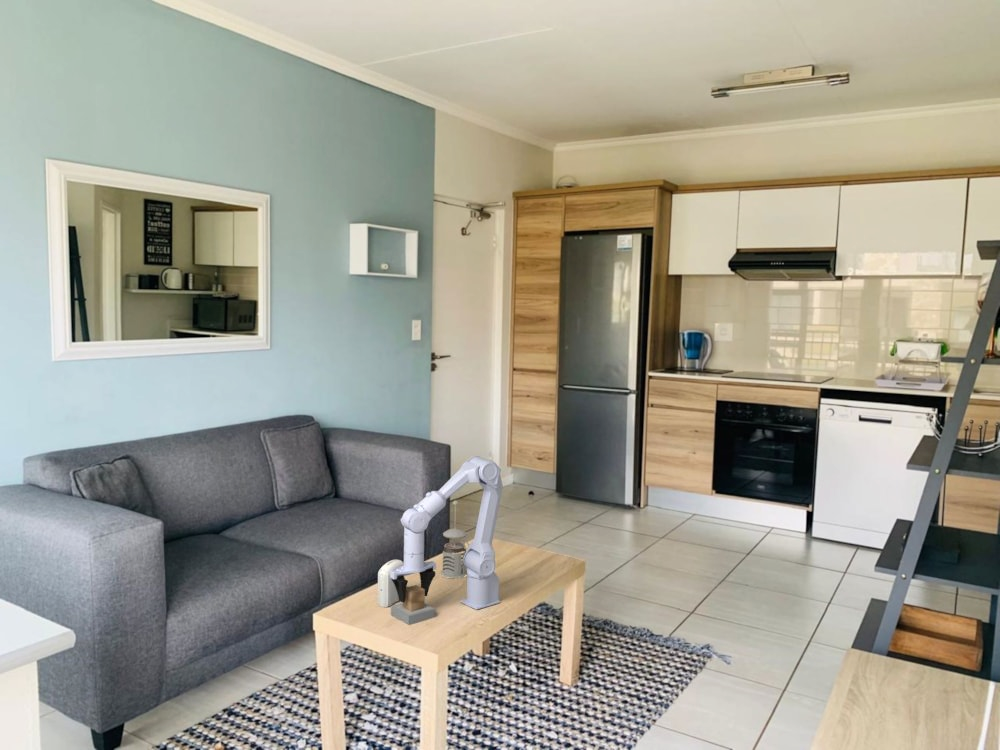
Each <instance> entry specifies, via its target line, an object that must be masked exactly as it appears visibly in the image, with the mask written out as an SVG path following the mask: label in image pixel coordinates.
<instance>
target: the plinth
mask: <svg viewBox="0 0 1000 750" xmlns="http://www.w3.org/2000/svg"><path fill="white" fill-rule="evenodd" d="M402 605H403V603H402V602H401V603H398V604H395V605H394V604H393V605H391V606H390V615H391V616H393V618H396V619H397V620H399V621H401V622H402V621H403V622H402V623H404V624H406V625H408V626H410V625H414V624H418V623H420V622H424V621H426V620H430V619H434V618H435V617H436V608H435V607H432V606H430V605H429V604H427V603H425V605H424V608H423V609H420V610H416V611H413V612H410V611H409V610H407V609H405V608H403V607H402Z"/></svg>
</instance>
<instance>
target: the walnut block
mask: <svg viewBox="0 0 1000 750" xmlns="http://www.w3.org/2000/svg"><path fill="white" fill-rule="evenodd" d="M425 598H426V596H425V589H423V588H421V586H419V585H417V584H415V585H410V586H406V598H405V602H403V605H402V607H403V608H405V609H407V610H409V611H410V612H413V611H416V610H420V609H423V608H424V605H425V604H426V603H425Z"/></svg>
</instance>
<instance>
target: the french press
mask: <svg viewBox="0 0 1000 750" xmlns="http://www.w3.org/2000/svg"><path fill="white" fill-rule="evenodd" d="M452 505H454V524H456V516H457V515H456V513H457V511H456V510H457V506H458V505H459V501H458V500H454V501H452ZM442 535H443V537H445V539H446V538H447V539H454V541H453V542H446V543H445V544H444V545H443V547H444V548H443V549H442V570H441V571H440V572H441V575H443V576H444V577H449V578H459V577H464V576H465V575H467V567H466V566H465V565H464V562H463V558H464V555H465V553H466V552H467V550H468V549H467V547H466V544H467V546H468V547H469V544H470V543H469V542H468V541H467V540H464V541H462V540H461V541H460V542H456V539H463V538H465V537H467V535H468V533H467V532H466V531H465V530H462V529H461V528H460V529H459V528H457V527H454V528H449V529H447V530H445V531H444V532H443V533H442ZM465 543H466V544H465ZM444 577H443V578H444Z"/></svg>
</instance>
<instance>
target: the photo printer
mask: <svg viewBox="0 0 1000 750" xmlns="http://www.w3.org/2000/svg"><path fill="white" fill-rule="evenodd" d="M403 564H404V561H402V560H401V559H392V560H389V561H387V562H386V563H385V564H383V565H382V566H381V568H380V569H379V570H378V572H377V605H378V606H379V607H380V608H388V607H391V606H393V605H394V604H396V603H397V602H400V601H399V598H398V594H397V590H396V587H395V585H394V583H393V581H392V579H391V578H390V571H392V570H395V569H397V568H400V567H402V566H403Z"/></svg>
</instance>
